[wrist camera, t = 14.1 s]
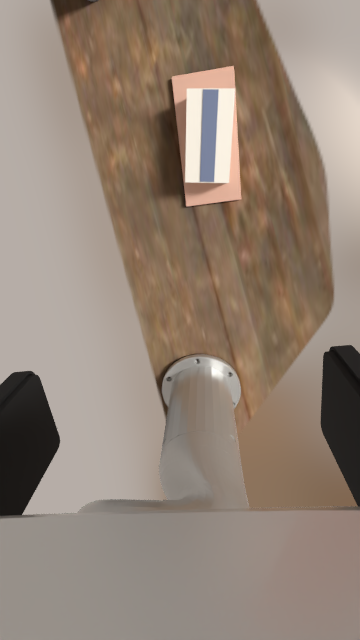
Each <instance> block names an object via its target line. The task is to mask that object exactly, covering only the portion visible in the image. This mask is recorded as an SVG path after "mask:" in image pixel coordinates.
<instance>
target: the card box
mask: <svg viewBox="0 0 360 640" xmlns="http://www.w3.org/2000/svg"><path fill="white" fill-rule="evenodd" d="M234 99H235V88H188V89H187V104H186V160H185V182H186V183H229V176H230V161H231V146H232V130H233V115H234Z"/></svg>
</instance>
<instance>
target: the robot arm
mask: <svg viewBox="0 0 360 640" xmlns="http://www.w3.org/2000/svg"><path fill="white" fill-rule="evenodd" d="M196 359H199V360H196ZM229 372H230V373H229ZM322 381H323V382H322V404H321V428H322V432H323V435H324V436H325V439H326V441H327V443H328V445H329V447H330V449H331V451H332V453H333V455H334V457H335V459H336V462H337V464H338V466H339V468H340V470H341V472H342V474H343V476H344V478H345V480H346V482H347V484H348V487H349V488H350V491H351V493H352V494H353V497H354V499H355V501H356V503H357V505H358V507H347V506H344V507H341V506H333V507H280V508H279V507H278V508H249V505H248V501H247V497H246V491H245V487H244V481H243V474H242V468H241V460H240V452H239V445H238V438H237V430H236V423H235V416H234V408H235V407H236V405H237V404H238V402H239V399H240V395H241V387H240V381H239V378H238V375H237V374H236V372H235V370H234V369H233V368H232V367H231V366H230V365H229V364H228V363H227V362H225V361H224V360H222V359H220V358H218V357H215V356H212V355H206V354H194V355H190V356H186V357H184V358H181V359H179V360H178V361H176V362H175V363H174V364H173V365H171V366H170V367H169V369H168V370H167V372H166V373H165V376H164V378H163V383H162V395H163V399H164V401H165V403H166V405H167V406H168V413H167V420H166V426H165V433H164V439H163V445H162V452H161V458H160V466H159V473H160V481H161V485H162V488H163V491H164V493H165V495H166V497H167V499H168V500H163V501H159V500H121V499H120V500H112V499H111V500H98V501H94V502H91V503H88V504H87V505H85V506H84V507H82V508H81V509H80V510H79V511H78V513H64V514H41V515H40V514H37V515H22V513H23V512H24V510H25V508H26V506H27V504H28V503H29V501H30V499H31V497H32V495H33V493H34V492H35V490H36V488H37V486H38V484H39V483H40V481H41V479H42V477H43V475H44V473H45V472H46V470H47V468H48V466H49V464H50V463H51V461H52V459H53V457H54V455H55V453H56V452H57V450H58V448H59V444H60V437H59V434H58V431H57V428H56V425H55V422H54V419H53V416H52V413H51V410H50V407H49V404H48V401H47V398H46V395H45V392H44V389H43V386H42V383H41V380H40V378H39V376H38V375H35V374H34V373H33V372H32V371H24V372H14V373H12V374H11V375H10V376H9V377H8V378H7V379H6V380H5V381H4V382H3V383H2V384H1V385H0V640H360V354H359V353H358V351H356V349H355V348H354V347H353V346H351V345H346V346H334V347H331V348H330V350H329V352H325V353H324V356H323V380H322Z"/></svg>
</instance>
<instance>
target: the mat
mask: <svg viewBox="0 0 360 640" xmlns="http://www.w3.org/2000/svg"><path fill="white" fill-rule="evenodd" d="M172 85H173V93H174V102H175V111H176V120H177V129H178V137H179V146H180V155H181V164H182V172H183V181H184V190H185V199H186V206H194V205H202V204H209V203H217V202H224V201H232V200H240V199H241V187H240V168H239V150H238V132H237V113H236V95H235V99H234V115H233V130H232V146H231V161H230V176H229V183H186V182H185V160H186V104H187V89H188V88H235V76H234V66H230V67H225V68H219V69H213V70H207V71H202V72H196V73H190V74H185V75H179V76H173V77H172Z"/></svg>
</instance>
